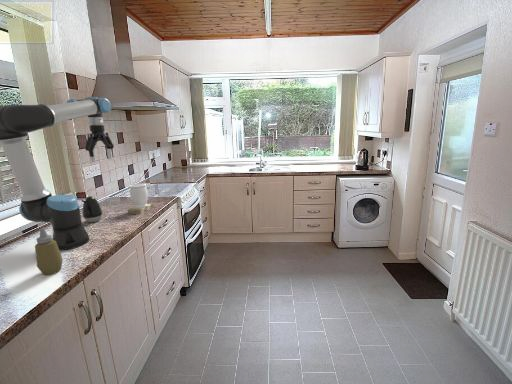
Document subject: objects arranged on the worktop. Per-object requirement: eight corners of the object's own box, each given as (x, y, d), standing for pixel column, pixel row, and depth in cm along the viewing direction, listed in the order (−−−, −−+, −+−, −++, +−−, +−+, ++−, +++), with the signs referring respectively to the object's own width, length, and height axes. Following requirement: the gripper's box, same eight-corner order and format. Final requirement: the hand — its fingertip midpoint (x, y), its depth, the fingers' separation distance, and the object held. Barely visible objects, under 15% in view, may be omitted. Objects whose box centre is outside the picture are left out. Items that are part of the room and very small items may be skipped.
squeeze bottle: (34, 274, 105) (23, 231, 100) (55, 264, 112) (46, 223, 108) (48, 278, 102) (37, 233, 97) (69, 267, 109) (60, 225, 105)
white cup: (130, 209, 176) (127, 186, 172) (133, 205, 185) (130, 183, 182) (148, 207, 178) (145, 185, 174) (150, 203, 188) (147, 182, 184)
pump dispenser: (79, 223, 161) (74, 198, 157) (95, 217, 170) (90, 193, 167) (92, 224, 157) (87, 199, 154) (107, 218, 167) (103, 194, 163)
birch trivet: (140, 213, 174) (140, 210, 174) (128, 213, 176) (127, 209, 176) (152, 207, 188) (152, 203, 187) (141, 206, 189) (140, 203, 189)
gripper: (85, 124, 149) (91, 163, 154) (116, 124, 173) (121, 158, 178) (73, 125, 150) (80, 163, 156) (106, 124, 174) (111, 158, 179)
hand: (102, 160), depth 167 cm, fingers open, 13 cm apart
